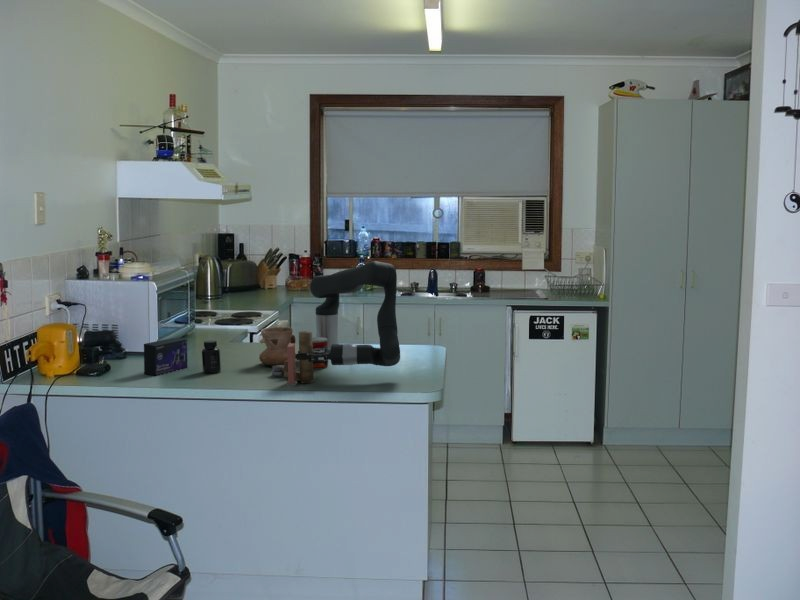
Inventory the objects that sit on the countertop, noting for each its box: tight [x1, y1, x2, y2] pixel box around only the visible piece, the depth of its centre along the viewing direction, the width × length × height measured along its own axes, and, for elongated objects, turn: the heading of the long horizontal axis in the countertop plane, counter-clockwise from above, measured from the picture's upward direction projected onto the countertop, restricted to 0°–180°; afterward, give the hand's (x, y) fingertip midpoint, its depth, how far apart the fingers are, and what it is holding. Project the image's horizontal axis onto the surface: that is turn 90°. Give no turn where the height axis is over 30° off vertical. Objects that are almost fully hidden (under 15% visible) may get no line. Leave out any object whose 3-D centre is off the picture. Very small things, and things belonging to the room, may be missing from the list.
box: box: [143, 336, 188, 376], centre depth 343 cm, size 17×7×12 cm, turn 149°
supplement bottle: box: [201, 339, 222, 375], centre depth 340 cm, size 7×7×12 cm
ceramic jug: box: [259, 326, 297, 367], centre depth 352 cm, size 18×14×14 cm
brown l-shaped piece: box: [272, 330, 314, 384], centre depth 326 cm, size 5×21×18 cm, turn 45°
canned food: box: [312, 336, 329, 369], centre depth 347 cm, size 8×8×11 cm
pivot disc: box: [271, 369, 285, 378], centre depth 332 cm, size 6×6×2 cm
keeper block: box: [286, 342, 298, 387], centre depth 319 cm, size 7×3×14 cm, turn 0°
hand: (297, 355), depth 320 cm, fingers open, 5 cm apart
